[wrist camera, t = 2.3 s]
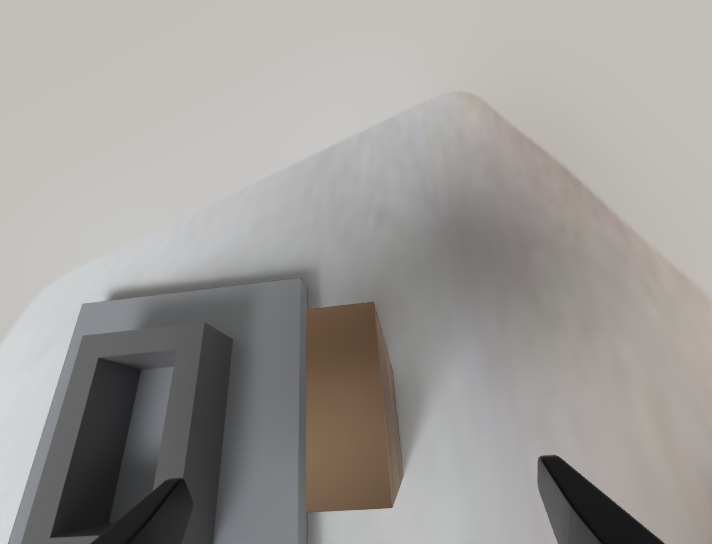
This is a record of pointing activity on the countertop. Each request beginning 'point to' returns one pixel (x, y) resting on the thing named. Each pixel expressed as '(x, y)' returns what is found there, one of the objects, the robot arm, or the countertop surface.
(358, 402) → the walnut block
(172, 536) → the robot arm
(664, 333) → the countertop surface
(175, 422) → the grey socket base
